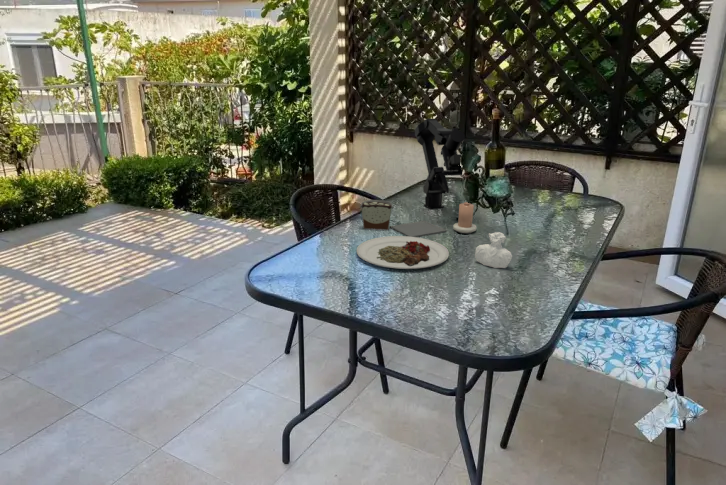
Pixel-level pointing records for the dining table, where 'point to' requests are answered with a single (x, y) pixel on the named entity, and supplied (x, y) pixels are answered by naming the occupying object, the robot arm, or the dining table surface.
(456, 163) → the robot arm
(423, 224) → the rubber mat
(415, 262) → the plated food
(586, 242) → the dining table surface
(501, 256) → the white tied sack
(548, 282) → the dining table surface
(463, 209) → the peach pillar candle
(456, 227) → the cream ceramic bowl
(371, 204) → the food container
